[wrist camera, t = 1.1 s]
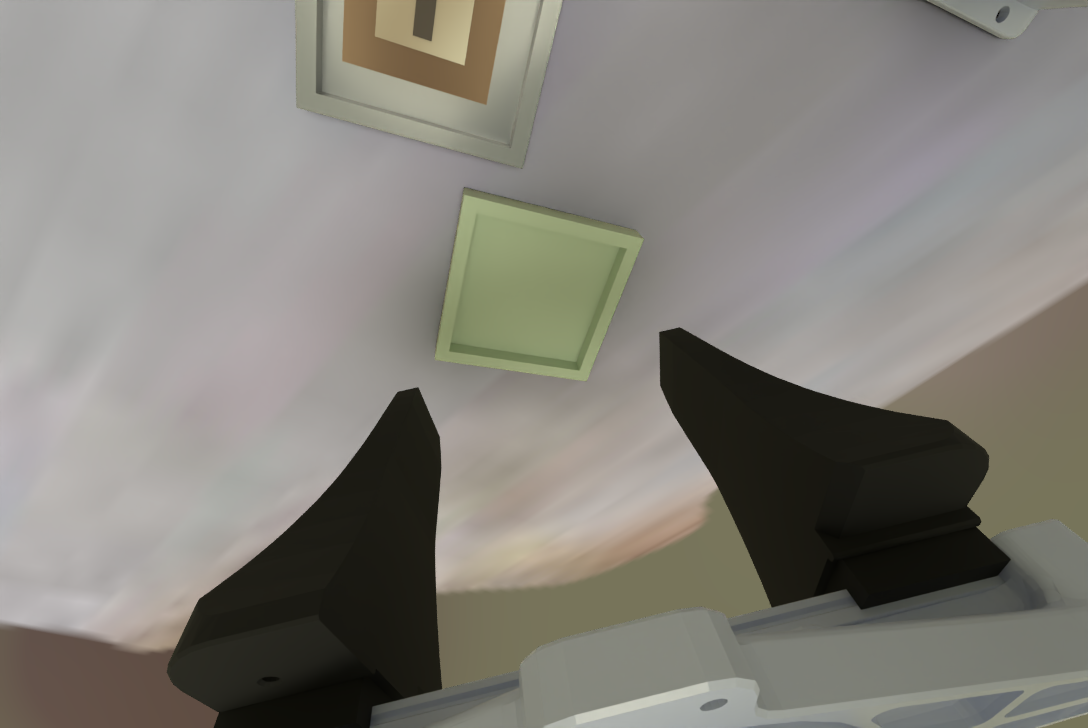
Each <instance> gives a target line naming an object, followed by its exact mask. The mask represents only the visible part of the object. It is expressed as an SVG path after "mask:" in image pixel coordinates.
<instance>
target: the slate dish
mask: <svg viewBox="0 0 1088 728" xmlns="http://www.w3.org/2000/svg"><path fill="white" fill-rule="evenodd" d="M562 1H563V0H506V2H505V7H504V13H503V18H502V24H501V29H500V34H499V40H498V45H497V51H496V56H495V61H494V67H493V72H492V78H491V83H490V88H489V94H488V99H487V104H486V105H484V104H481V103H478V102H474V101H471V100H468V99H465V98H461V97H458V96H455V95H451V94H448V93H445V92H442V91H438V90H435V89H432V88H429V87H425V86H422V85H419V84H415V83H412V82H409V81H406V80H402V79H399V78H396V77H392V76H389V75H386V74H383V73H379V72H376V71H373V70H370V69H366V68H363V67H360V66H356V65H353V64H350V63H347V62H343V61H342V48H343V18H344V0H295V20H296V107H297V108H300V109H304V110H307V111H311V112H315V113H319V114H322V115H326V116H330V117H333V118H337V119H341V120H344V121H348V122H352V123H355V124H359V125H363V126H366V127H370V128H374V129H377V130H381V131H385V132H389V133H392V134H396V135H400V136H403V137H407V138H411V139H414V140H418V141H422V142H425V143H429V144H433V145H436V146H440V147H444V148H447V149H451V150H455V151H459V152H462V153H466V154H470V155H473V156H477V157H481V158H484V159H488V160H492V161H495V162H499V163H503V164H506V165H510V166H514V167H517V168H521V169H522V168H523V164H524V160H525V156H526V152H527V147H528V143H529V139H530V135H531V131H532V126H533V122H534V118H535V114H536V110H537V105H538V101H539V97H540V93H541V89H542V84H543V80H544V76H545V72H546V68H547V64H548V59H549V55H550V51H551V47H552V43H553V38H554V34H555V30H556V26H557V22H558V17H559V13H560V9H561V5H562Z"/></svg>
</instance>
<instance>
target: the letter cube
mask: <svg viewBox="0 0 1088 728" xmlns="http://www.w3.org/2000/svg"><path fill="white" fill-rule="evenodd" d="M505 2H506V0H344V18H343V48H342V61H343V62H347V63H350V64H353V65H356V66H360V67H363V68H366V69H370V70H373V71H376V72H379V73H383V74H386V75H389V76H392V77H396V78H399V79H402V80H406V81H409V82H412V83H415V84H419V85H422V86H425V87H429V88H432V89H435V90H438V91H442V92H445V93H448V94H451V95H455V96H458V97H461V98H465V99H468V100H471V101H474V102H478V103H481V104H484V105H486V104H487V99H488V94H489V88H490V83H491V78H492V72H493V67H494V61H495V56H496V51H497V45H498V40H499V34H500V29H501V24H502V18H503V13H504V7H505Z"/></svg>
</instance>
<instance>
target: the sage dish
mask: <svg viewBox="0 0 1088 728" xmlns="http://www.w3.org/2000/svg"><path fill="white" fill-rule="evenodd" d="M643 240H644V238H643V237H642V236H641V235H640V234H639V233H638V232H637V231H636V230H633V229H629V228H625V227H621V226H617V225H613V224H609V223H605V222H601V221H597V220H593V219H589V218H585V217H581V216H577V215H573V214H569V213H565V212H561V211H557V210H553V209H549V208H545V207H541V206H537V205H533V204H529V203H525V202H521V201H517V200H513V199H509V198H505V197H501V196H497V195H493V194H489V193H485V192H481V191H477V190H473V189H469V188H465V187H464V190H463V196H462V201H461V207H460V213H459V218H458V224H457V230H456V235H455V241H454V247H453V252H452V258H451V263H450V269H449V275H448V280H447V286H446V292H445V297H444V303H443V308H442V314H441V320H440V325H439V331H438V337H437V342H436V350H435V360H440V361H447V362H454V363H461V364H468V365H475V366H482V367H489V368H496V369H503V370H510V371H517V372H524V373H531V374H538V375H546V376H553V377H560V378H567V379H574V380H581V381H587V378H588V376H589V373H590V371H591V369H592V366H593V364H594V361H595V359H596V356H597V354H598V351H599V349H600V346H601V344H602V341H603V339H604V336H605V334H606V332H607V329H608V327H609V324H610V322H611V319H612V317H613V314H614V312H615V309H616V307H617V304H618V302H619V299H620V297H621V295H622V292H623V290H624V287H625V285H626V282H627V280H628V277H629V275H630V272H631V270H632V267H633V265H634V263H635V260H636V258H637V255H638V253H639V250H640V248H641V245H642V243H643Z"/></svg>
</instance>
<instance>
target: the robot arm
mask: <svg viewBox="0 0 1088 728" xmlns="http://www.w3.org/2000/svg"><path fill="white" fill-rule="evenodd" d="M927 1H929V2H931V3H933V4H935V5H937V6H938V7H940V8H942V9H944V10H946V11H948V12H950V13H952V14H954V15H956V16H958V17H960V18H962V19H964V20H966V21H968V22H970V23H972V24H974V25H976V26H978V27H980V28H982V29H983V30H985V31H987V32H989V33H991V34H993V35H995V36H997V37H999V38H1001V39H1013V38H1016V37H1018V36H1019V35H1020V34H1022V33H1023V32H1024V30H1025V29H1026V28H1027V27H1028V25H1029V24H1030V22H1031V21H1032V19H1033V18H1034V17H1035V15H1036V14H1037V12H1038V11H1039V10H1041V9H1056V8H1072V7H1087V6H1088V0H927ZM999 10H1000V13H999V16H998V18H997V19H996V16H997V13H998V12H999ZM659 337H660V386H661V388H662V391H663V393H664V395H665V398H666V400H667V402H668V404H669V406H670V408H671V411H672V413H673V414H674V416H675V418H676V419H677V421H678V423H679V424H680V426H681V427H682V429H683V431H684V432H685V434H686V435H687V437H688V439H689V440H690V442H691V443H692V445H693V447H694V448H695V450H696V451H697V453H698V454H699V456H700V458H701V459H702V461H703V462H704V464H705V465H706V467H707V469H708V470H709V472H710V474H711V475H712V477H713V479H714V481H715V482H716V484H717V486H718V488H719V490H720V492H721V494H722V496H723V498H724V500H725V503H726V505H727V507H728V509H729V511H730V513H731V515H732V517H733V519H734V521H735V524H736V525H737V528H738V530H739V532H740V534H741V536H742V539H743V541H744V543H745V545H746V547H747V550H748V552H749V554H750V557H751V559H752V561H753V564H754V566H755V568H756V570H757V573H758V575H759V577H760V580H761V582H762V584H763V587H764V589H765V592H766V594H767V597H768V599H769V601H770V604H771V607H772V608H768V609H765V610H760V611H756V612H752V613H748V614H744V615H740V616H736V617H732V618H728V619H727V618H726V616H725V614H723V613H721V612H719V611H716V610H712V609H708V608H705V607H694V608H686V609H678V610H674V611H669V612H666V613H661V614H657V615H653V616H649V617H645V618H642V619H637V620H633V621H629V622H625V623H621V624H617V625H613V626H608V627H605V628H601V629H596V630H593V631H589V632H584V633H580V634H576V635H572V636H568V637H564V638H560V639H558V640H555V641H553V642H550V643H548V644H545V645H542V646H540V647H538V648H537V649H536V650H534V651H533V652H532V653H531V654H529V655H528V656H527V657H526V658H525V659H524V660H523V662H522V663H521V664H520V670H518V671H514V672H510V673H506V674H502V675H498V676H494V677H490V678H486V679H482V680H478V681H474V682H470V683H466V684H461V685H457V686H453V687H449V688H445V689H442V682H441V670H440V658H439V642H438V626H437V605H436V577H435V538H436V525H437V514H438V502H439V491H440V478H441V450H440V437H439V434H438V432H437V430H436V427H435V425H434V423H433V420H432V418H431V416H430V413H429V411H428V409H427V406H426V404H425V402H424V399H423V397H422V395H421V392H420V390H419V388H418V387H417V388H413V389H408V390H404V391H400V392H397V394H396V395H395V397H394V398H393V400H392V401H391V403H390V404H389V406H388V407H387V409H386V410H385V412H384V413H383V415H382V417H381V418H380V420H379V421H378V423H377V424H376V426H375V427H374V429H373V430H372V432H371V433H370V435H369V436H368V438H367V439H366V441H365V442H364V444H363V445H362V446H361V448H360V449H359V450H358V452H357V453H356V454H355V456H354V457H353V458H352V460H351V461H350V462H349V464H348V465H347V466H346V468H345V469H344V470H343V471H342V473H341V474H340V475H339V476H338V477H337V479H336V480H335V481H334V482H333V483H332V484H331V486H330V487H329V488H328V489H327V490H326V491H325V492H324V493H323V494H322V496H321V497H320V498H319V499H318V500H317V501H316V502H315V503H314V504H313V505H312V506H311V507H310V508H309V509H308V510H307V511H306V512H305V513H304V514H303V515H302V516H301V517H300V518H299V519H298V520H297V521H296V522H295V523H294V524H292V525H291V526H290V527H289V528H288V529H287V530H286V531H285V532H284V533H283V534H282V535H281V536H279V537H278V538H277V539H276V540H275V541H274V542H273V543H271V544H270V545H269V546H268V547H267V548H266V549H264V550H263V551H262V552H261V553H260V554H258V555H257V556H256V557H255V558H254V559H252V560H251V561H250V562H248V563H247V564H246V565H245V566H243V567H242V568H241V569H240V570H238V571H237V572H236V573H234V574H233V575H231V576H230V577H229V578H227V579H226V580H225V581H223V582H222V583H221V584H219V585H218V586H217V587H215V588H214V589H213V590H211V591H210V592H209V593H207V594H206V595H204V596H203V597H202V598H200V599H199V600H198V602H197V604H196V606H195V608H194V610H193V612H192V615H191V617H190V619H189V621H188V623H187V625H186V627H185V629H184V631H183V634H182V636H181V638H180V640H179V642H178V644H177V646H176V648H175V650H174V653H173V655H172V657H171V659H170V661H169V664H168V669H167V673H168V676H169V678H170V680H171V682H172V683H173V685H175V686H176V687H177V688H179V689H180V690H181V691H182V692H184V693H186V694H188V695H189V696H191V697H193V698H195V699H196V700H198V701H200V702H202V703H203V704H205V705H207V706H209V707H210V708H212V709H214V710H216V711H217V712H219V715H218V717H217V720H216V723H215V726H214V728H1041V727H1044V726H1047V725H1051V724H1054V723H1058V722H1061V721H1064V720H1068V719H1071V718H1074V717H1078V716H1081V715H1085V714H1088V543H1087V542H1086V541H1084V540H1083V539H1082V538H1080V537H1079V536H1078V535H1077V534H1075V533H1074V532H1073V531H1072V530H1070V529H1069V528H1068V527H1066V526H1065V525H1064V524H1063V523H1061V522H1060V521H1059V520H1053V519H1052V520H1047V521H1043V522H1039V523H1035V524H1031V525H1027V526H1022V527H1018V528H1015V529H1010V530H1007V531H1004V532H1002V533H999V534H998V535H996V536H994V537H992V538H991V539H988V538H987V537H986V536H985V535H984V534H983V533H982V532H981V531H980V530H979V529H978V528H977V527H976V526H979V525H980V523H981V520H980V517H979V516H977V515H976V514H975V513H974V512H973V511H972V510H970V508H969V507H967V505H968V503H969V501H970V500H971V498H972V497H973V495H974V494H975V492H976V490H977V489H978V487H979V486H980V484H981V482H982V481H983V479H984V477H985V475H986V473H987V471H988V467H989V455H988V454H987V452H986V450H985V449H984V448H983V447H982V446H980V445H979V444H977V443H976V442H975V441H974V440H972V439H971V438H969V437H968V436H967V435H966V434H965V433H963V432H962V431H961V430H959V429H958V428H957V427H955V426H954V425H953V424H951V423H950V422H949V421H947V420H942V419H935V418H929V417H923V416H916V415H911V414H905V413H899V412H893V411H889V410H884V409H880V408H875V407H871V406H866V405H862V404H858V403H854V402H850V401H846V400H842V399H839V398H836V397H832V396H829V395H825V394H822V393H819V392H815V391H812V390H809V389H806V388H803V387H801V386H798V385H795V384H793V383H790V382H787V381H785V380H782V379H779V378H777V377H775V376H772V375H770V374H768V373H765V372H763V371H761V370H759V369H757V368H755V367H752V366H750V365H748V364H746V363H744V362H742V361H740V360H738V359H736V358H734V357H732V356H730V355H728V354H727V353H725V352H723V351H721V350H719V349H717V348H716V347H714V346H712V345H710V344H708V343H707V342H705V341H703V340H701V339H700V338H698V337H696V336H694V335H693V334H691V333H689V332H687V331H685V330H684V329H682V328H680V327H679V328H675V329H671V330H666V331H662V332H659Z"/></svg>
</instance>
